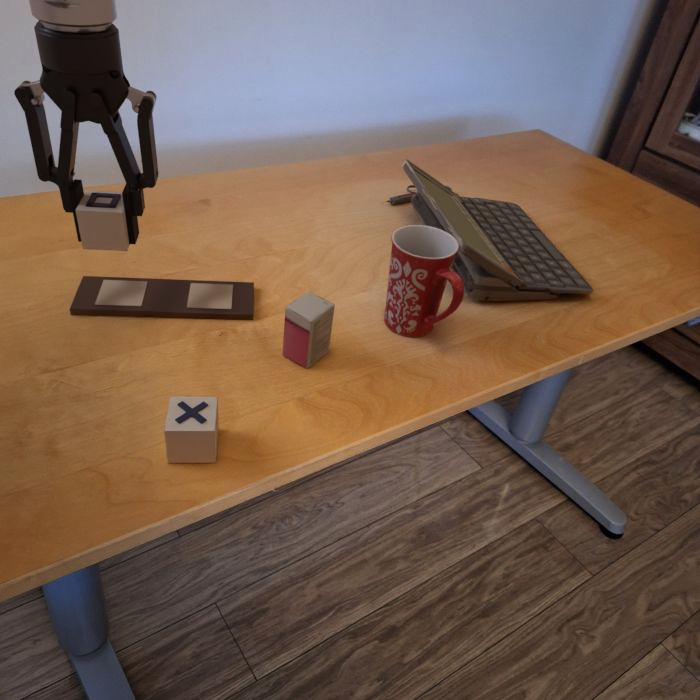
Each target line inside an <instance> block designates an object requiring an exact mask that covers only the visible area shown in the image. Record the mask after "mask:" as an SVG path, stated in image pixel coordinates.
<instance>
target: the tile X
mask: <svg viewBox="0 0 700 700" xmlns="http://www.w3.org/2000/svg"><path fill="white" fill-rule="evenodd" d="M164 424H165V425H164V429H163V432H164V440H165V441H164V442H165V451H166V461H167V463H168V464H216V463H217V456H218V455H217V454H218V444H219V443H218V441H219V430H220V427H219V426H220V425H219V424H220V423H219V397H218V396H174V395H173V396H172V395H171V396H169V400H168V406H167V412H166V419H165V423H164Z"/></svg>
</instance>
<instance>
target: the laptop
mask: <svg viewBox="0 0 700 700" xmlns="http://www.w3.org/2000/svg"><path fill="white" fill-rule="evenodd" d="M401 167H402V169H403V171H404V173H405V174H406V176H407V178H408V179H409V180H410V182H411V183H412V185H414V186H415V187H416V188H415V190H416V191H415V192H416V193H415V194H414V195H413V197H412V200H411V204H412V209H413V210H414V212H415V214H416V215H417V217H418V218H419V220H420V222H421V223H422V225H425V226H431V227H435V228H438V229H441V230H443V231H445V232H447V233H449V234H450V235H452V236H453V237H454V238H455V239H456V240H457V242H458V244H459V249H458V251H457V253H456V254H455V257H454V261H453V264H452V267H451V271H454V272H456V273H457V274H458V275H459V276H460V277H461V279H462V281H463V284H464V293H465V294H466V295H467V296H468V298H470V299H472V300H474V301H489V302H494V301H495V302H496V301H497V302H502V301H503V302H504V301H505V302H506V301H532V300H534V301H536V300H553V299H557V298H559V297H560V296H561V294H578V295H579V294H582V295H583V294H584V295H592V294H593V292H594V289H593V287H592V286H591V285H590V284H589V282H588V281H587V280H586V278H584V276H583V275H582V274H581V273H580V271H578V270H577V268H576V267H575V266H574V265H573V264H572V263H571V262H570V261H569V260H568V259H567V257H566V256H565V255H563V253H562V252H561V251H560V250H559V249H558V248H557V247H556V246H555V244H554V243H553V242H552V241H551V240H550V239H549V238H548V237H547V236H546V234H545V233H544V232H543V231H542V230H541V228H540V227H539V226H538V225H537V224H536V223H535V222H534V221H533V219H531V217H530V216H529V215H528V214H527V213H526V212H525V210H524V209H523V208H522V207H521V206H520V205H519V204H517V203H515V202H510V201H503V200H497V199H490V198H481V197H468V196H460V195H459V194H458V193H456V192H454V191H453V190H452V191H451V190H450V189H448V188H447V187H446V186H447V185H445V184H444V183H442V182H441V181H439V180H438V179H436V178H435V177H433V176H432V175H430V174H429V173H427V172H426V171H425V170H424V169H422V168H421V167H419V166H418V165H416V164H415V163H413V162H412V161H410V160H409V159H405V160H404V162H403V164H402V165H401ZM444 185H445V186H444Z"/></svg>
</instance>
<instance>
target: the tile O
mask: <svg viewBox="0 0 700 700" xmlns="http://www.w3.org/2000/svg"><path fill="white" fill-rule="evenodd" d="M122 192H123V191H122ZM122 192H121V191H106V190H105V191H103V190H88V189H86V190H85V191H84V195H83V197H82V199H81V201H80V203H79V205H78V206H77V208H76V215H77V221H78V226H79V231H80V237H81V242H80V243H81V248H82V250H93V251H115V252H128V251H129V248H130V245H131V244H129V238H128V231H127V223H126V216H125V209H124V204H123V197H122Z"/></svg>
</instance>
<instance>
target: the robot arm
mask: <svg viewBox="0 0 700 700" xmlns="http://www.w3.org/2000/svg"><path fill="white" fill-rule="evenodd" d="M28 3H29V7H30V11H31V16H33V18H35V19H37V20H38V21H37V22H36V23H35V25H34V27H33V28H34V34H35V39H36V45H37V50H38V54H39V60H40V64H41V74H40V77H39V79H38V80H35V81H30V80H23V81H22V82H21V83H20V84H19V85H18V86H17V87H16V88H15V89H14V91H13V92H14V93H13V94H14V96H15V99H16V100H17V102H18V103H19V105H20V108H21V109H22V111H23V112H24V116H25V121H26V126H27V130H28V135H29V140H30V144H31V145H30V146H31V149H32V154H33V159H34V164H35V169H36V174H37V178H38V180H40V181H41V182H45V183H47V182H50V183H53V184H55V185H56V186H57V187H58V190H59V194H60V199H61V203H62V204H61V205H62V208H63V211H65V213H69V214H70V213H71V214H72V215H73V220H74V226H75V233H76V237H77V241H78V242H80V243H82V242H81V237H80V231H79V226H78V221H77V215H76V208H77V206H78V205H79V203H80V201H81V199H82V197H83V195H84V193H85V191H84V186H83V181H82V179H74V176H75V175H76V171H75V168H76V167H75V166H76V157H77V149H78V147H77V146H78V139H79V129H80V123H85V122H90V123H94V124H98V125H100V126H101V129H102V131H103V133H104V135H106V137H107V139H108V142H109V144H110V146H111V149H112V151H113V154H114V156H115V160H116V161H117V164H118V166H119V169H120V171H121V174H122V176H123V178H124V181H125V185H124V187H123V190H122V197H123V204H124V209H125V216H126V223H127V231H128V238H129V244H130V245H136V244H137V241H138V239H139V235H140V227H139V219H138V217H143V214H144V212H145V209H146V202H145V193H144V189H148V188H149V189H153V188H155V187H156V185H157V181H158V178H159V164H158V155H157V145H156V136H155V126H154V119H153V118H154V117H153V112H154V109H155V105H156V102H157V94H156V93H155V91H153V90H146V91H142V90H140V89H138V88H136V87H133V86H131V84H130V81H129V80H128V78H127V77H126V75H125V70H124V67H123V56H122V48H121V40H120V39H121V38H120V31H119V28H118V27H117V26H116V25H115V24H114V22H115V21H116V20H117V19H118V13H117V4H116V3H117V2H116V0H28ZM45 94H46V95H47V97H49V99H50V100H51V101H52V102H53V104H55V106H56V107H57V108H58V109H59V110H60V111H61V113H60V125H59V126H60V127H59V128H60V137H59V148H58V158H57V159H58V161H57V166H56V161H55V156H54V151H53V147H52V141H51V136H50V129H49V125H48V119H47V114H46V109H45V106H44V102H45V100H46V97H45ZM126 100H128V101H130V104H131V109H132V111H133V112H134V113H136V114H137V115H136V116H137V118H136V125H137V126H136V127H137V133H138V142H139V150H140V159H141V167H142V172H141V169H140V167H139V164H138V162H137V159H136V157H135V154H134V152H133V148H132V146H131V144H130V141H129V138H128V136H127V133H126V131H125V128H124V126H123V120H122V117H121V113H120V111H119V110H120V109H121V107H122V105H123V104H124V103H125V101H126Z"/></svg>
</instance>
